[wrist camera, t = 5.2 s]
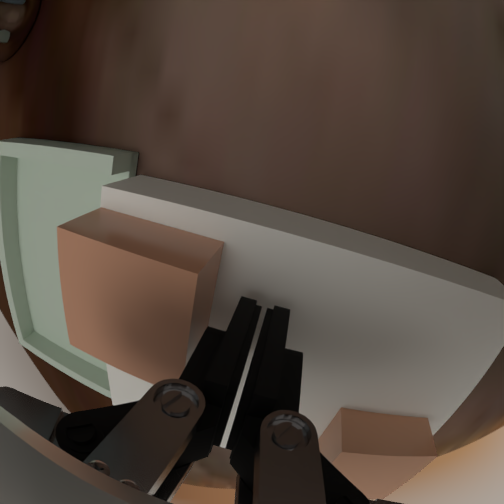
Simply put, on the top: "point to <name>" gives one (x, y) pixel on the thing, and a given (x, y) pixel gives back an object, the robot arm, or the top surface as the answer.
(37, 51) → the top surface
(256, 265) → the white slab
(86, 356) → the tray
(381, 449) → the far tile
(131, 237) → the near tile
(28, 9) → the beer glass
